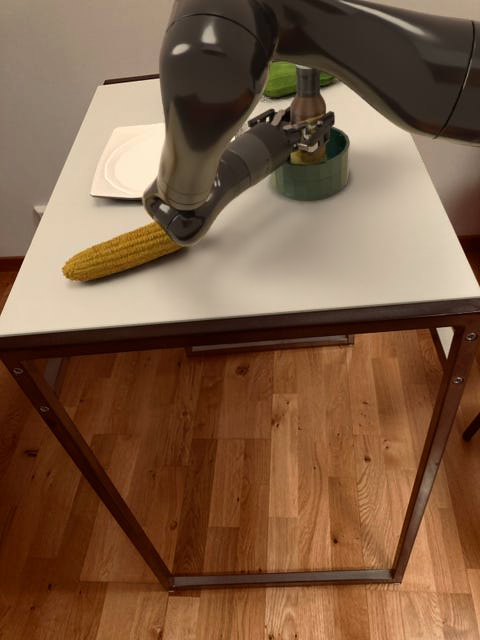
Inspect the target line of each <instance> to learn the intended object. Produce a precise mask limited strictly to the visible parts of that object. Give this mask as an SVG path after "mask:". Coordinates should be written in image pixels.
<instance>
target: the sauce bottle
mask: <svg viewBox="0 0 480 640" xmlns="http://www.w3.org/2000/svg"><path fill="white" fill-rule="evenodd" d="M320 73H321V71H319V70H316V69H313V68H309V67H305V66H301V65H297V64H296V75H297V88H296V91H297V92H296V94H295V95H294V97H293V99H292V101H291V103H290V105H289V107H290V116H291V117H290V124H298V123H301V122H304V121H307V122H308V123H311V122H314V121H317V120H318V119H319V118H321V117H322V116H323V115H325V114H326V113H327V104H326V103H327V102H326V101H325V99H324V97H323V95H322V94H321V86H320ZM301 131H302V139H303V137H304V129H301ZM315 132H316V128H313V129H311V134H312V133H315ZM325 150H326V144H325V145H324V146H323V147H322V148H321V149H320V150H319V151H318V152H317V153H316V154H315V155H314V156H308V155H307V151H306V150H302V149H300V150H298V151H296V152H293V153H291V163H293V164H315V163H321V162H324V161H325Z"/></svg>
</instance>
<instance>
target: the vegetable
mask: <svg viewBox="0 0 480 640" xmlns="http://www.w3.org/2000/svg"><path fill="white" fill-rule="evenodd" d="M335 80H337V79H336V78H334V77H333V76H330V75H328V74H326V73H324V72H321V73H320V87H325V86H327V85H329V84H330V83H331V82H333V81H335ZM296 88H297V75H296V64H293V63H288V62H282V61H275V62H271V67H270V71H269V76H268V80H267V84H266V87H265V90H264V93H263V95H262V97H265V98H269V99H275V98H281V97H284V96H287V95H290V94H294V93H297V91H296Z"/></svg>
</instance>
